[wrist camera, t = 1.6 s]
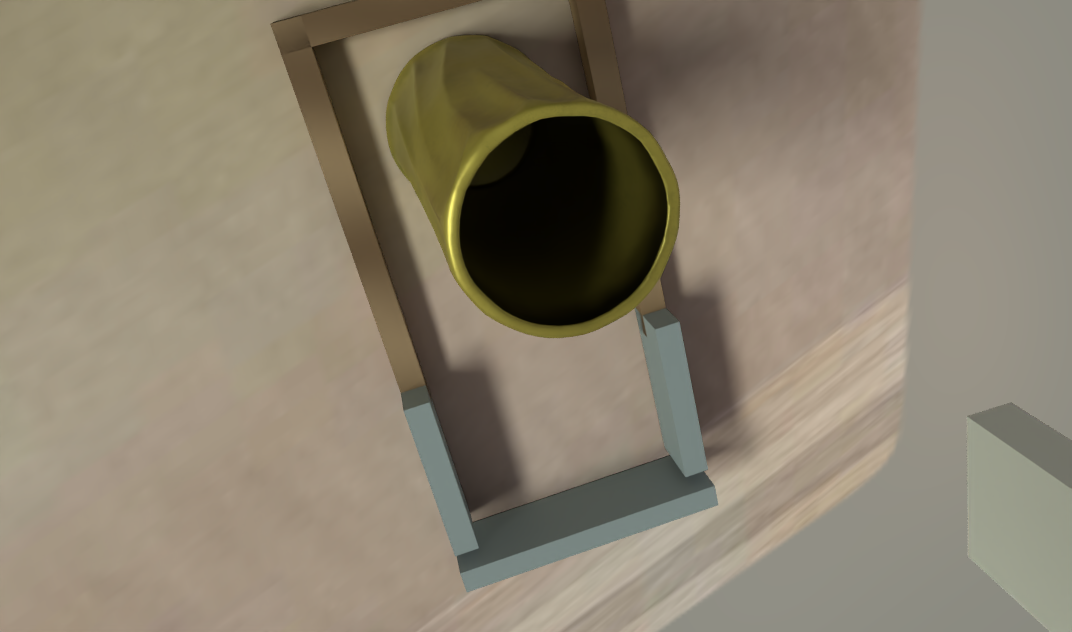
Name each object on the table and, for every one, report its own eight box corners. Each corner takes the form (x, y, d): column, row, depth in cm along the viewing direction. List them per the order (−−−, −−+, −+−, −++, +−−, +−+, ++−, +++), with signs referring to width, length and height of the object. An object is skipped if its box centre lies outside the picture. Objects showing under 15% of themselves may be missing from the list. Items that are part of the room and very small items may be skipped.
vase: (555, 35, 31) (715, 78, 18) (550, 203, 33) (689, 350, 20) (382, 33, 30) (418, 77, 17) (388, 208, 32) (425, 368, 19)
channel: (272, 22, 29) (270, 23, 28) (584, -63, 30) (592, -63, 29) (406, 403, 35) (408, 414, 34) (661, 321, 36) (670, 330, 35)
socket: (399, 382, 34) (404, 417, 32) (657, 299, 35) (684, 326, 33) (457, 548, 38) (466, 592, 35) (691, 467, 39) (718, 505, 36)
